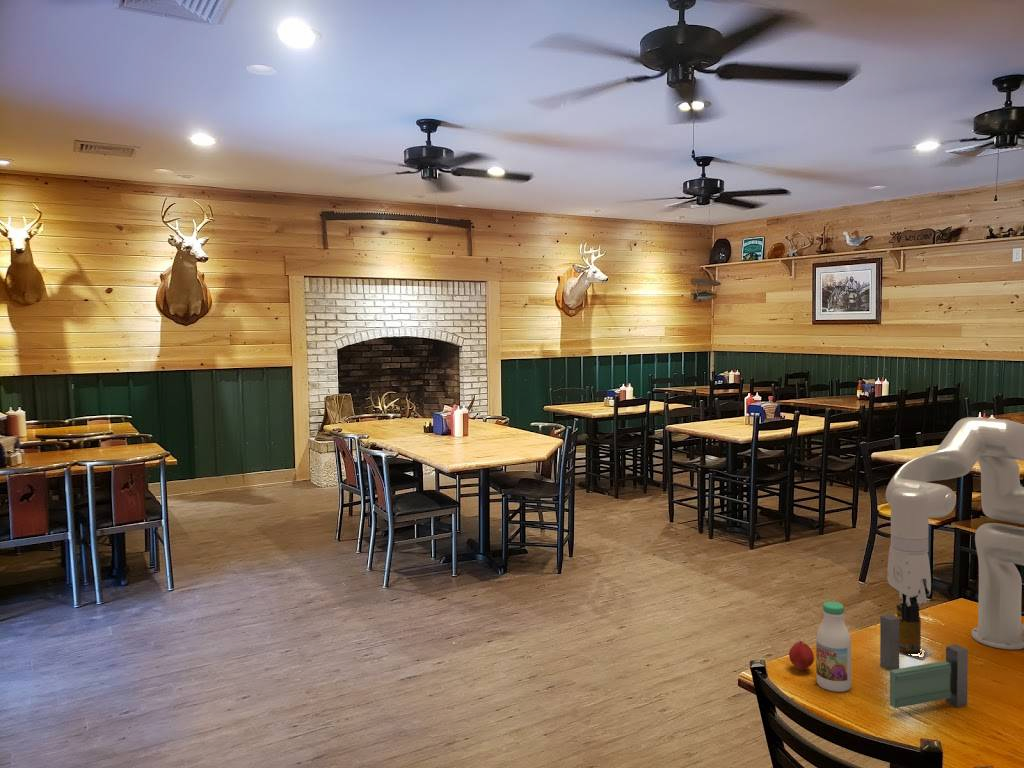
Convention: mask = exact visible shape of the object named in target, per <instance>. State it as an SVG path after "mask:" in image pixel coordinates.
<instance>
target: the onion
mask: <svg viewBox="0 0 1024 768" xmlns="http://www.w3.org/2000/svg"><path fill="white" fill-rule="evenodd" d="M804 641H805V640H803V639H799V641H798V642H795V643H794V644H793V645H792V646H791V647H790V649H789V652H788V657H789V661H790V663H791V664H792V665H793V666H794V667H795V668H796V669H798V670H799V671H802V672H803V671H805V670H806V669H808V668H809V667H811V666H812V665H813V663H814V660H815V657H814V656H815V655H814V652H813V650H812V649H811V646H809V645H808V644H807V643H805V642H804Z"/></svg>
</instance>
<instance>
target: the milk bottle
mask: <svg viewBox="0 0 1024 768" xmlns="http://www.w3.org/2000/svg"><path fill="white" fill-rule="evenodd" d="M844 607H845V606H844V605H843V604H842V602H841V603H840V602H838V601H825V602H824V603H823V604H822V613H823V619H822V620H821V623H820V625H819V627H818V630H817V632H816V633H817V634H816V640H815V641H816V643H815V646H816V649H815V653H816V655H815V657H816V659H815V663H816V668H815V669H816V682H817V685H818V687H820V688H822V689H824V690H827V691H830V692H835V693H838V692H839V693H843V692H848V691H849V690H850V689H851V687H852V639H851V636H850V632H849V630H848V627H847V626H846V624H845V621H844V615H845V612H844V611H845V608H844Z"/></svg>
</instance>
